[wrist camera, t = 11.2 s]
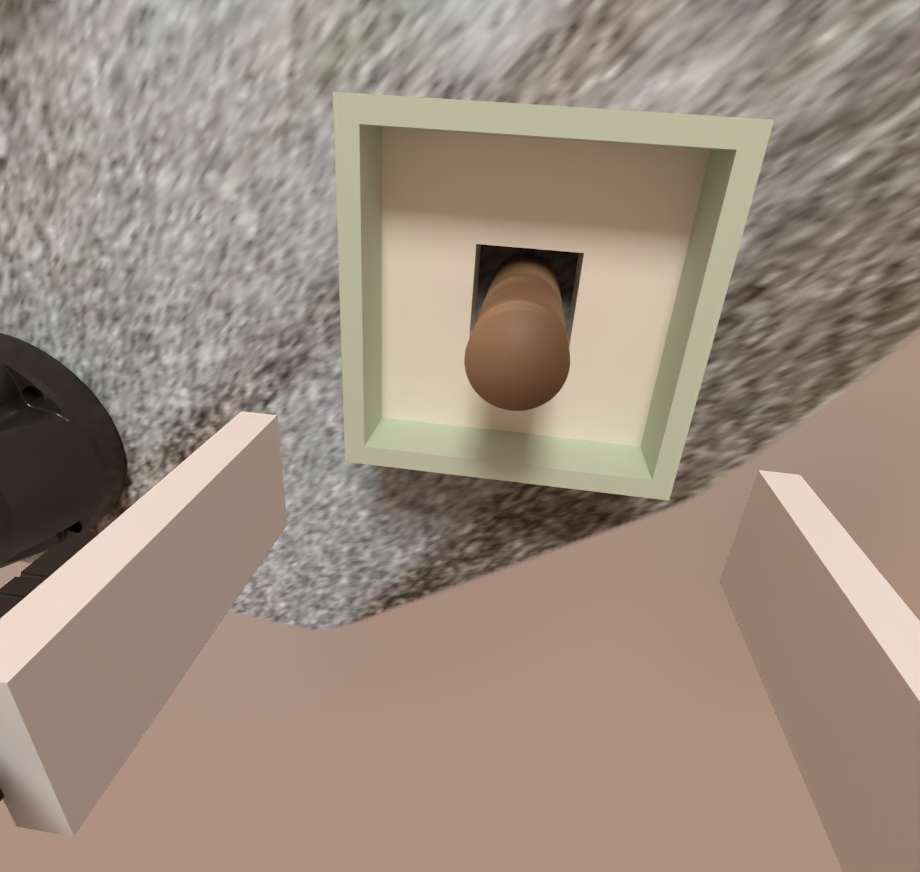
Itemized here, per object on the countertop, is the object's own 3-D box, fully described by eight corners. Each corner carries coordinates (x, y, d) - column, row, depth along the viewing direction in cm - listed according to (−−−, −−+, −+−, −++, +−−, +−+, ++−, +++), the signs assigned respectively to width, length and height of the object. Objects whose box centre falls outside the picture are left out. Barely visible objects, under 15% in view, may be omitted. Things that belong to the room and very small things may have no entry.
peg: (488, 319, 31) (461, 405, 20) (494, 251, 29) (468, 305, 19) (554, 325, 31) (561, 416, 20) (563, 257, 29) (578, 315, 18)
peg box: (377, 409, 34) (345, 461, 28) (377, 105, 27) (332, 91, 21) (646, 439, 33) (669, 500, 27) (721, 127, 26) (774, 119, 20)
